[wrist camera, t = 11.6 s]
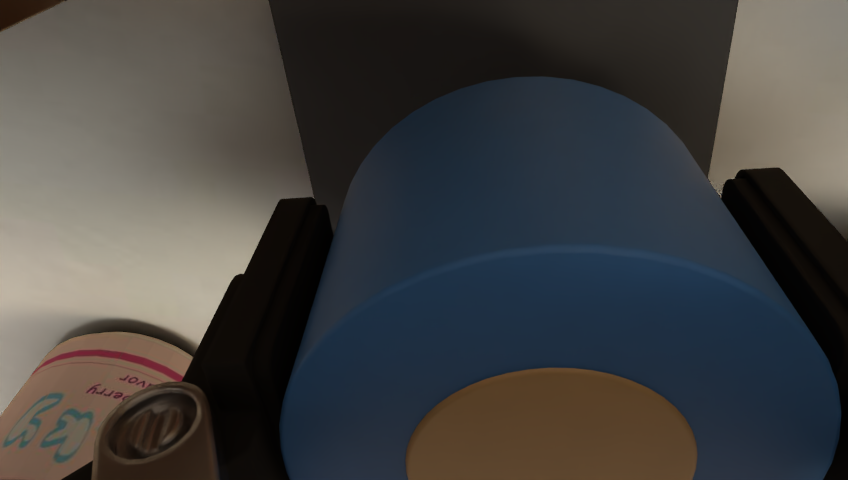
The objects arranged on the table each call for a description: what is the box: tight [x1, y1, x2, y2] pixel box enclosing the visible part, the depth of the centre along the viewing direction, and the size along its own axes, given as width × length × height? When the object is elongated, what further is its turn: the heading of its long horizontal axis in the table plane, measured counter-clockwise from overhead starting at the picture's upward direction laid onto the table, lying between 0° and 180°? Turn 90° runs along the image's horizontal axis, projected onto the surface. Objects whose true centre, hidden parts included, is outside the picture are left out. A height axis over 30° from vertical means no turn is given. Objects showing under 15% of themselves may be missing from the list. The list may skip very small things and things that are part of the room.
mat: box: [269, 0, 738, 235], centre depth 14 cm, size 9×9×1 cm
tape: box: [279, 77, 841, 480], centre depth 9 cm, size 6×6×5 cm
